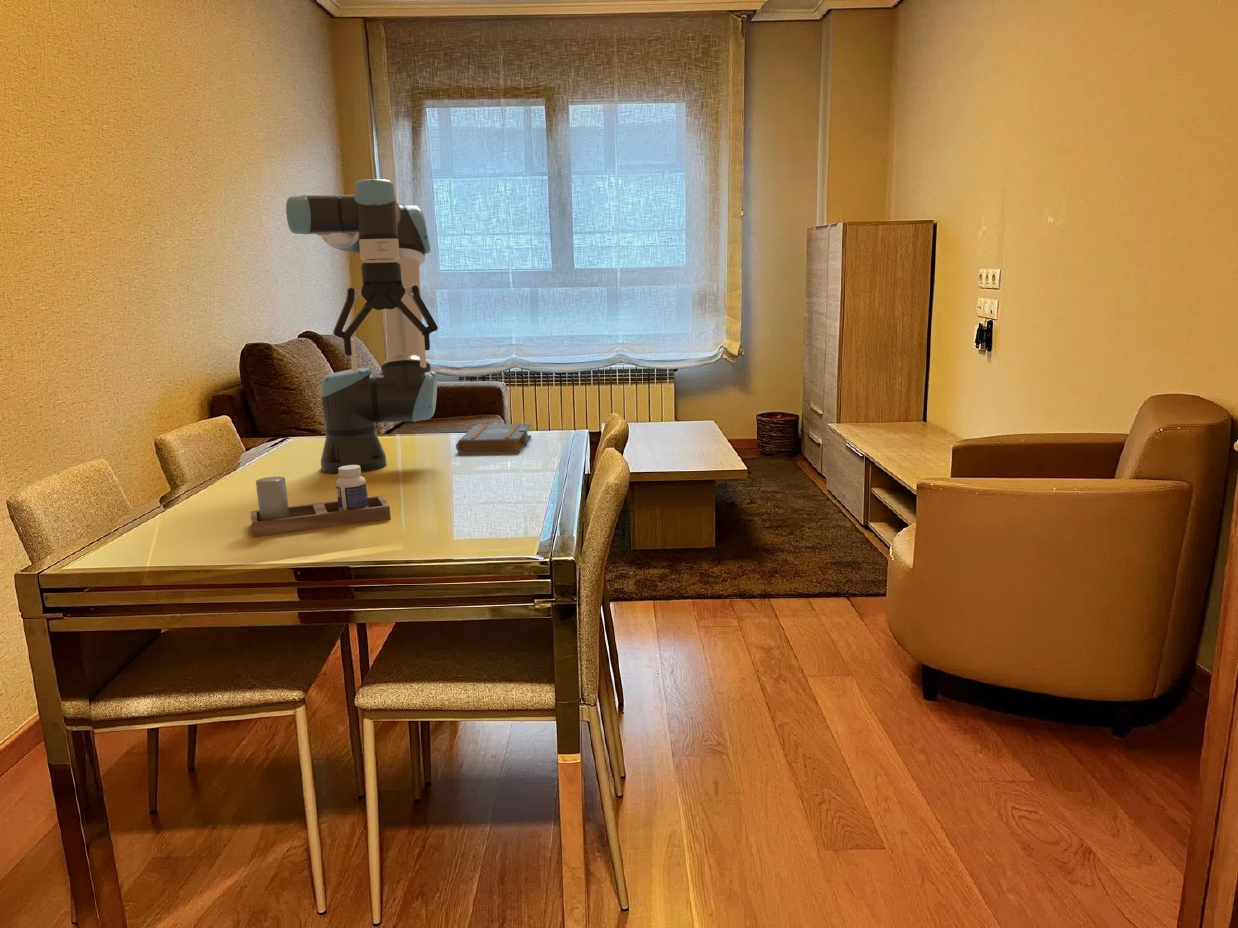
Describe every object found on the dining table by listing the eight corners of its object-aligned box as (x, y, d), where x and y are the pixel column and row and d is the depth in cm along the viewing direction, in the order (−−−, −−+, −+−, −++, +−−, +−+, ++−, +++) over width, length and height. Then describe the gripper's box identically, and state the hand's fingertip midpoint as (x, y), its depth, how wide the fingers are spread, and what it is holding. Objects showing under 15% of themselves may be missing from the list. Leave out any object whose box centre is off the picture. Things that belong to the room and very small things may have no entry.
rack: (252, 529, 171) (250, 511, 170) (383, 512, 180) (382, 495, 179) (253, 542, 163) (251, 523, 162) (391, 524, 172) (389, 506, 171)
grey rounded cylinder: (260, 525, 169) (255, 478, 167) (289, 522, 171) (284, 475, 169) (261, 532, 165) (256, 484, 163) (291, 529, 167) (286, 481, 165)
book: (473, 439, 253) (472, 421, 252) (532, 438, 252) (532, 420, 251) (456, 456, 232) (455, 436, 231) (521, 454, 232) (520, 435, 230)
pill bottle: (374, 513, 175) (369, 464, 173) (359, 521, 170) (353, 470, 168) (350, 512, 176) (344, 463, 174) (334, 520, 172) (328, 469, 169)
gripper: (316, 263, 172) (327, 375, 177) (447, 259, 182) (454, 366, 186) (312, 263, 179) (323, 371, 184) (439, 260, 188) (446, 363, 193)
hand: (389, 369), depth 185 cm, fingers open, 13 cm apart
